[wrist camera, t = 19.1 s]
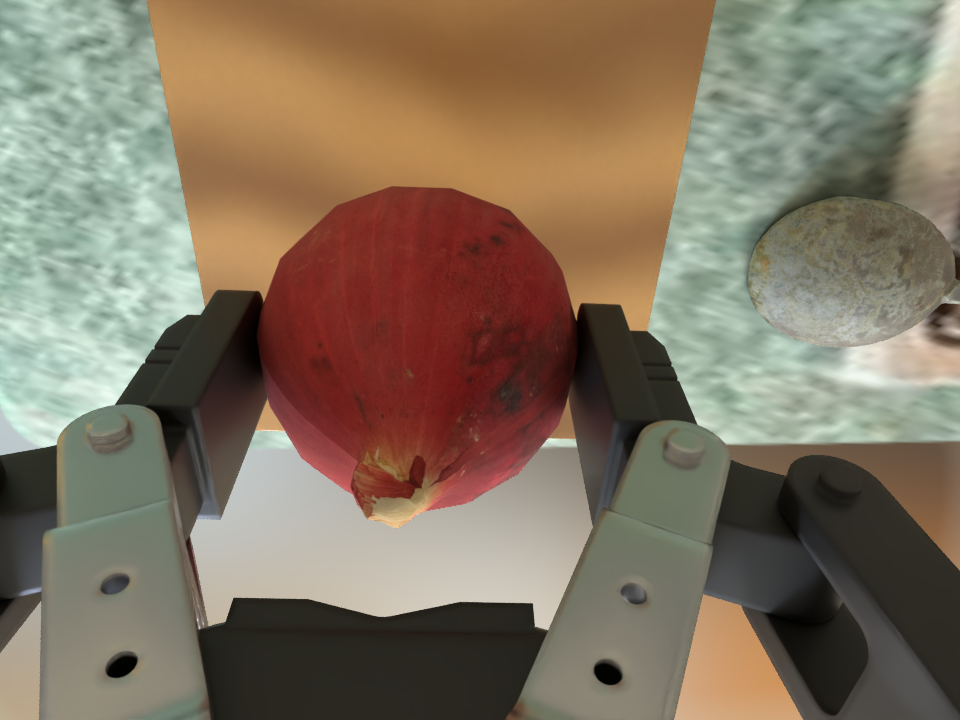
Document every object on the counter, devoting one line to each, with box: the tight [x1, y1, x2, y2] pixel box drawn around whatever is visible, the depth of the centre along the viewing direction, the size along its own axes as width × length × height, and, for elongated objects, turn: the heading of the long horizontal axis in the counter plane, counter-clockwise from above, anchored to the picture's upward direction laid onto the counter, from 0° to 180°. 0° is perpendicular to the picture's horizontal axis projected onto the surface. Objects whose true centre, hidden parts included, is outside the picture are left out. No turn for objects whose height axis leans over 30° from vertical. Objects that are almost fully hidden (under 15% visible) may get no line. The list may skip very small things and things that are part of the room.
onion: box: [257, 186, 578, 528], centre depth 13 cm, size 6×6×8 cm
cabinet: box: [147, 0, 716, 439], centre depth 23 cm, size 15×13×10 cm
